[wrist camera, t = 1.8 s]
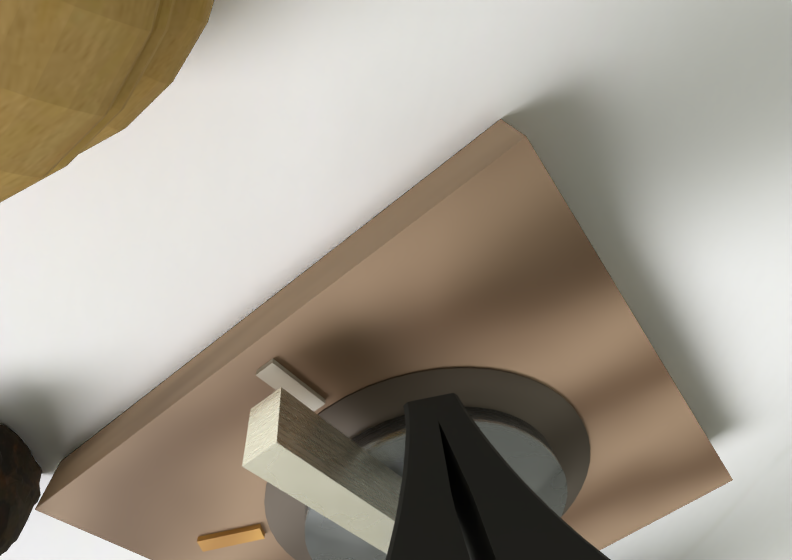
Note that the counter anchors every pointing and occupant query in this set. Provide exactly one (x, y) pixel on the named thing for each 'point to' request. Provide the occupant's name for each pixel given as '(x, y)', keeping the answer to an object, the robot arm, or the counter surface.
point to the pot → (82, 74)
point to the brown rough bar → (16, 486)
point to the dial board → (408, 372)
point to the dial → (370, 471)
